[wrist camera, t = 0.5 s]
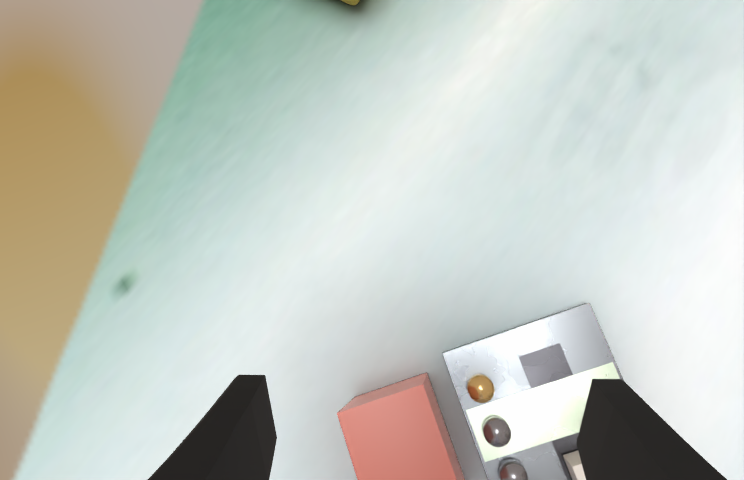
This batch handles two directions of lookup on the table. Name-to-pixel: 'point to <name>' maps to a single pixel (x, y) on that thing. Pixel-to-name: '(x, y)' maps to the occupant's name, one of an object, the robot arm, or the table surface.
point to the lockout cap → (399, 434)
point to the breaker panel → (531, 392)
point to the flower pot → (351, 2)
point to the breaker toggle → (574, 465)
